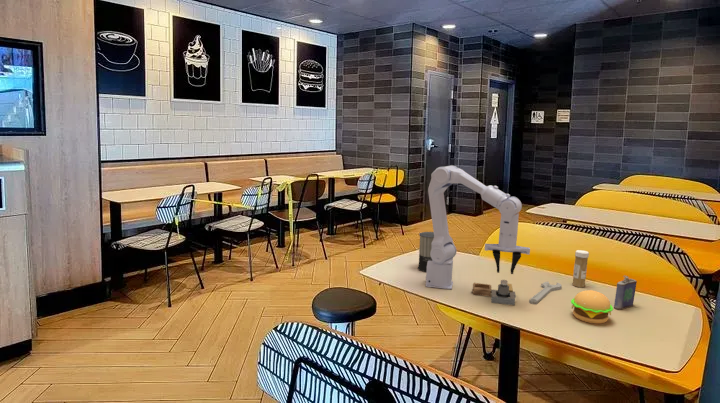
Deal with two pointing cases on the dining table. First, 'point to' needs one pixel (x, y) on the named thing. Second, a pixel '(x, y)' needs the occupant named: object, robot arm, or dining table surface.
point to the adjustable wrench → (544, 292)
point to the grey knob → (503, 289)
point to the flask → (625, 293)
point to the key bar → (510, 287)
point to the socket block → (503, 298)
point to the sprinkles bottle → (580, 268)
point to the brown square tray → (481, 289)
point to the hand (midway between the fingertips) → (504, 272)
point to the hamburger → (591, 307)
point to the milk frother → (425, 249)
